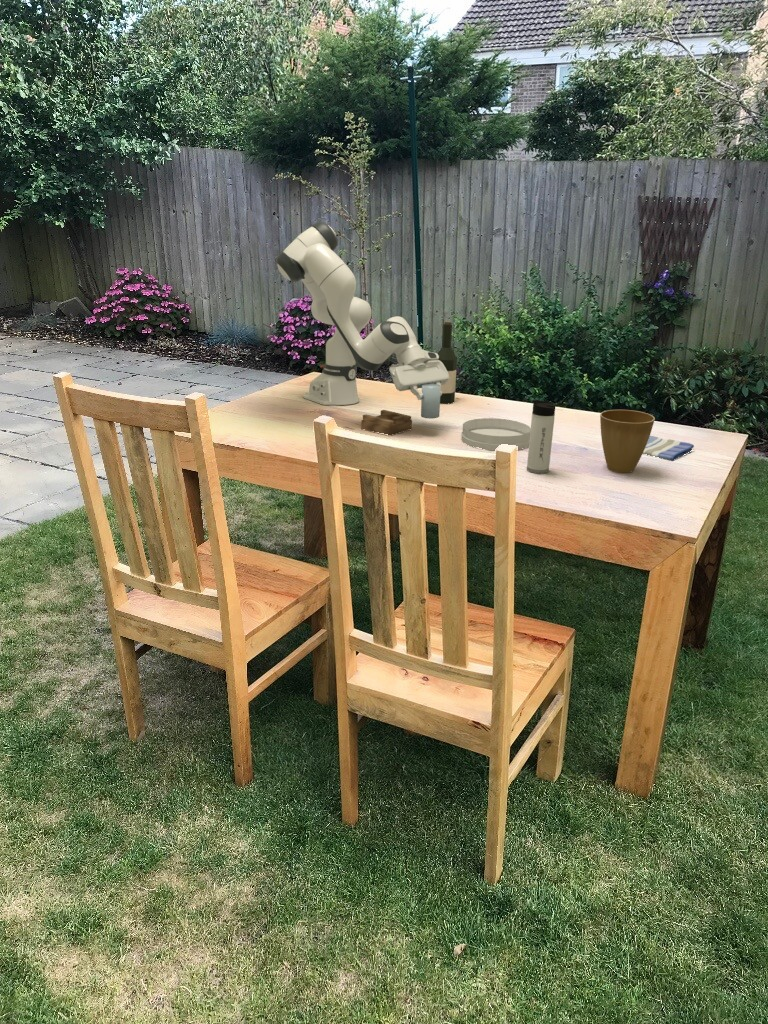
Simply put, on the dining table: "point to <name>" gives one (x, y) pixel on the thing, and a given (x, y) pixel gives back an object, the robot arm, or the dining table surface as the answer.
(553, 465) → the dining table surface
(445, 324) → the wine bottle
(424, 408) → the grey domed cylinder
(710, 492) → the dining table surface
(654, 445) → the dish towel
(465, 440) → the dish
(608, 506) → the dining table surface
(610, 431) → the plant pot
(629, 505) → the dining table surface
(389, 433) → the chest
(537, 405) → the travel mug
